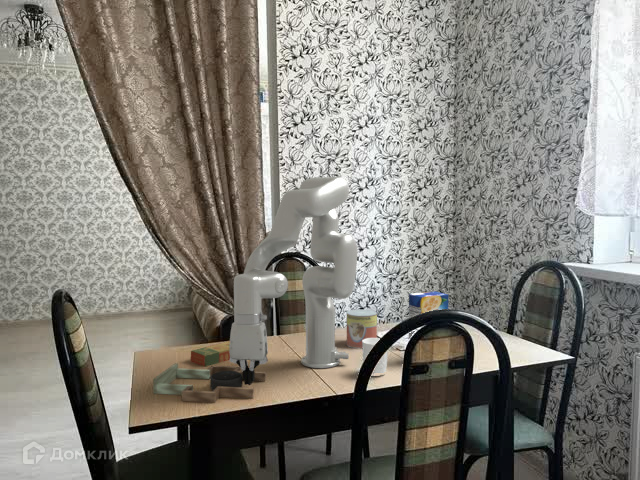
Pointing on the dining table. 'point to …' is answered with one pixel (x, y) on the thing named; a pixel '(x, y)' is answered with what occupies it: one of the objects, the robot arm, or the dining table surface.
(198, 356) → the carton
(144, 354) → the dining table surface
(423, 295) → the beverage box
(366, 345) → the white cup
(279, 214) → the robot arm
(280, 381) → the dining table surface
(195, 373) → the wooden flat frame
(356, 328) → the canned food
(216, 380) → the smart speaker
